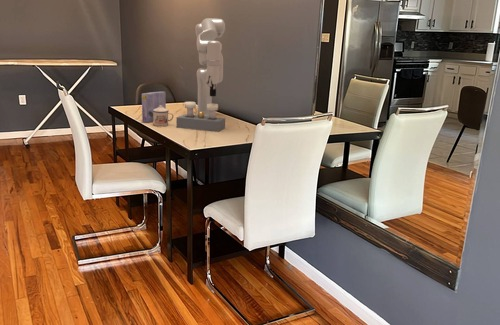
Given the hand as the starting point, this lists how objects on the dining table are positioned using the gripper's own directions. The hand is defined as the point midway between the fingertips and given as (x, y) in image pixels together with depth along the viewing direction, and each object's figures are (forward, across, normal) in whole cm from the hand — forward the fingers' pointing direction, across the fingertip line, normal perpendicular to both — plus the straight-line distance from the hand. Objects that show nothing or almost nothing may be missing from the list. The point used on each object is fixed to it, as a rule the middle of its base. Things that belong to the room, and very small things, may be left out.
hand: (212, 96), depth 264 cm
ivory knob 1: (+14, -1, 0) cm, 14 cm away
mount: (+19, -1, -7) cm, 21 cm away
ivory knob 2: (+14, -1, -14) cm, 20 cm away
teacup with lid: (+19, +2, -30) cm, 36 cm away
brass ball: (+13, -1, -7) cm, 15 cm away
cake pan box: (+19, -8, -41) cm, 46 cm away
